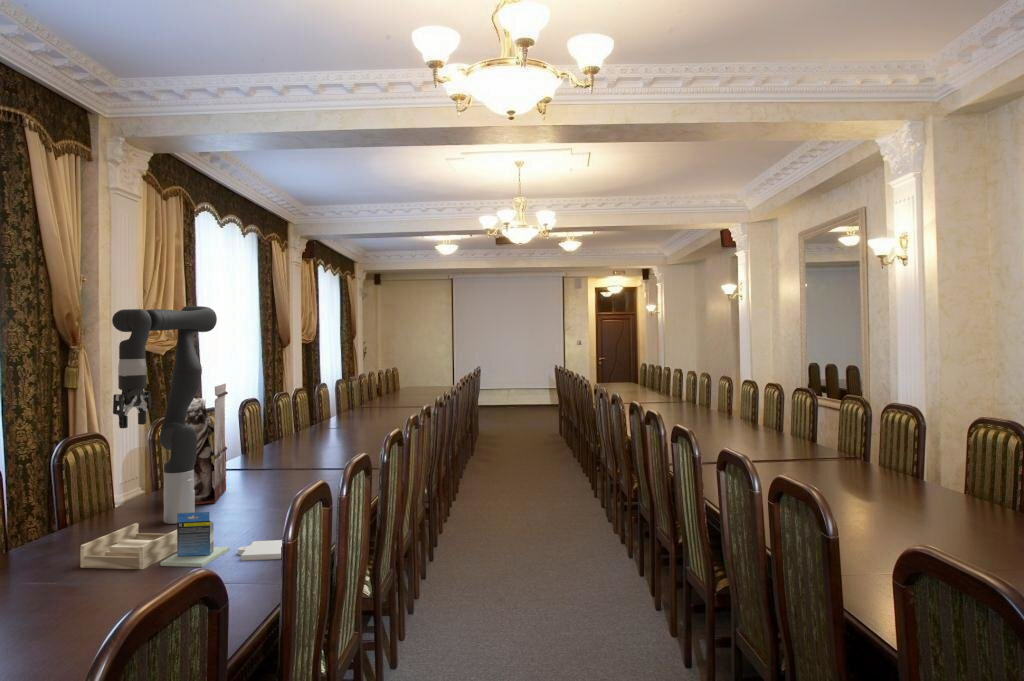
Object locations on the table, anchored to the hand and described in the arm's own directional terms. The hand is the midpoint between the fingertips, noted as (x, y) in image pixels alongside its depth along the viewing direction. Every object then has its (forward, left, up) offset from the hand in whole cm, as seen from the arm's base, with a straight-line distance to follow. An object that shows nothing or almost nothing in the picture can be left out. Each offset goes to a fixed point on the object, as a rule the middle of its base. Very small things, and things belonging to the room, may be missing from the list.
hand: (133, 426), depth 196 cm
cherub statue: (-55, -13, -36) cm, 67 cm away
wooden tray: (+12, +10, -36) cm, 39 cm away
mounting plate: (+6, +47, -36) cm, 60 cm away
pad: (+13, +28, -36) cm, 47 cm away
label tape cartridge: (+13, +28, -35) cm, 47 cm away
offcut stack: (+14, +10, -36) cm, 40 cm away
